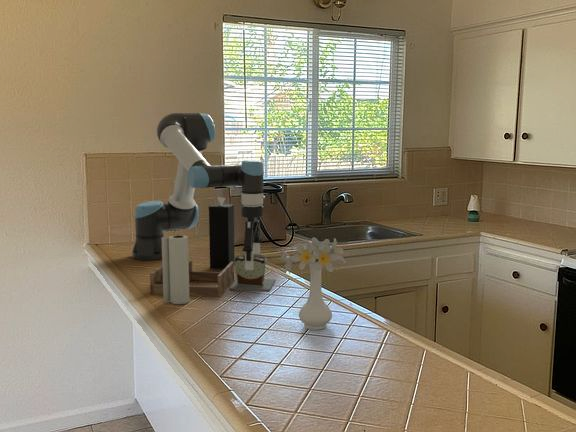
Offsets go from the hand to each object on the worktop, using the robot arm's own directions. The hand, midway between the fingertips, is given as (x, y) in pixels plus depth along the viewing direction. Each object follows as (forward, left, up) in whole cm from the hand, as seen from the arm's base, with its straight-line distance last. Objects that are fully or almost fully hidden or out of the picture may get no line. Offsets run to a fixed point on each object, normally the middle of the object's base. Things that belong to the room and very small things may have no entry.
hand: (252, 265), depth 214 cm
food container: (0, 0, -7) cm, 7 cm away
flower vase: (+42, +25, -7) cm, 50 cm away
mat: (0, 0, -7) cm, 7 cm away
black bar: (-25, -17, -7) cm, 31 cm away
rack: (+5, -20, -7) cm, 22 cm away
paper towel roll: (+23, -20, -7) cm, 31 cm away
